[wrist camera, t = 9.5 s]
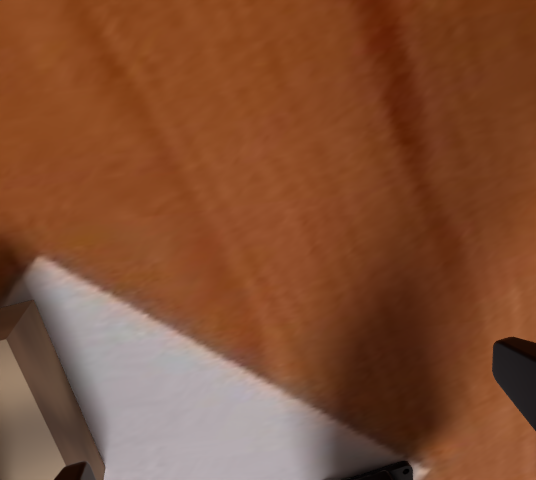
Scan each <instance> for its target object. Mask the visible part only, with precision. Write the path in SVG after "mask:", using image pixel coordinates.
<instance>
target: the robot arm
mask: <svg viewBox="0 0 536 480" xmlns="http://www.w3.org/2000/svg"><path fill="white" fill-rule="evenodd" d="M492 372H493V375H494V378H495V380H496V381H497V383H498V384H499V385H500V387H501V388H502V389H503V390H504V392H505V393H506V394H507V395H508V397H509V398H510V399H511V400H512V402H513V403H514V404H515V406H516V407H517V408H518V409H519V411H520V412H521V413H522V414H523V416H524V417H525V418H526V419H527V421H528V422H529V423H530V425H531V426H532V427H533V428H534V430H535V431H536V343H534V342H531V341H527V340H523V339H520V338H516V337H508V338H504V339H501V340H498V341H496V342H495V343H494V345H493V363H492ZM54 480H96V478H95V476H94V473H93V471H92V468H91V466H90V464H89V463H88V461H80V462H77V463H73V464H70V465H67V466H65V467H64V468H63V469H62V470H61V471H60V472H59V474H58V475H57V476H56V477H55V479H54ZM347 480H413V469H412V467H411V465H410V464H409V462H407V461H402V462H399V463H396V464H393V465H390V466H387V467H384V468H381V469H378V470H375V471H372V472H369V473H366V474H363V475H360V476H356V477H353V478H350V479H347Z"/></svg>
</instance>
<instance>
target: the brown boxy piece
mask: <svg viewBox="0 0 536 480" xmlns="http://www.w3.org/2000/svg"><path fill="white" fill-rule="evenodd" d="M80 461H88V463H89V464H90V466H91V468H92V471H93V473H94V476H95V478H96V480H103V479H104V473H105V466H104V464H103V461H102V459H101V457H100V454H99V452H98V450H97V447H96V445H95V443H94V440H93V438H92V436H91V433H90V431H89V429H88V426H87V424H86V422H85V419H84V417H83V415H82V412H81V410H80V408H79V405H78V403H77V401H76V398H75V396H74V393H73V391H72V389H71V386H70V384H69V382H68V379H67V377H66V375H65V372H64V370H63V368H62V365H61V363H60V361H59V358H58V356H57V354H56V351H55V349H54V347H53V344H52V342H51V340H50V337H49V335H48V333H47V330H46V328H45V326H44V323H43V321H42V319H41V316H40V314H39V312H38V309H37V307H36V305H35V302H34V300H30V301H26V302H22V303H18V304H14V305H10V306H6V307H2V308H0V480H54V479H55V477H56V476H57V475H58V474H59V472H60V471H61V470H62V469H63V468H64V467H65V466H67V465H70V464H73V463H77V462H80Z"/></svg>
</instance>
